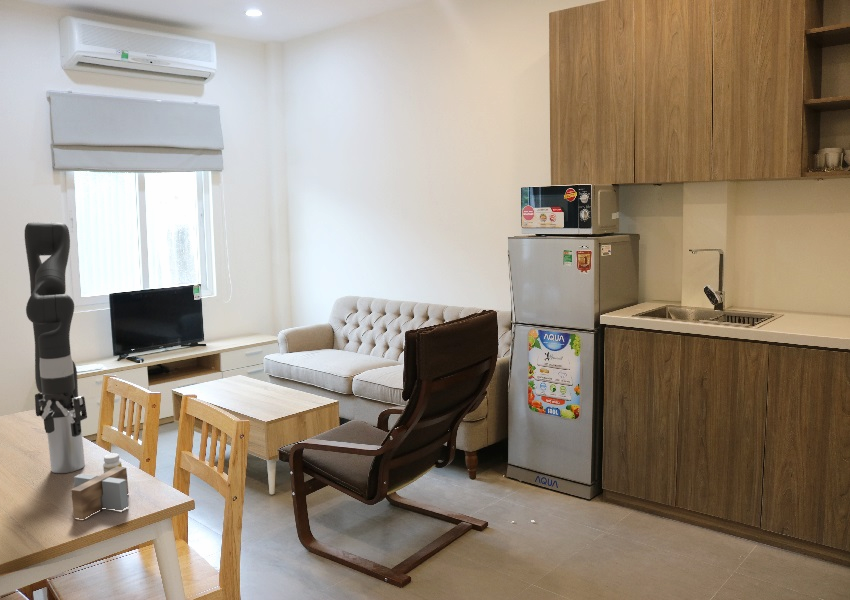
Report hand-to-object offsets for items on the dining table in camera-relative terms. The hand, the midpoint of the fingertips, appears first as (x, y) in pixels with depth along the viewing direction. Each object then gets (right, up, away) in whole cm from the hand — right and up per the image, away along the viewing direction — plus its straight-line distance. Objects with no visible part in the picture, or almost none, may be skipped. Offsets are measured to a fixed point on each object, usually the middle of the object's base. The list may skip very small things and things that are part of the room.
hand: (63, 433), depth 185 cm
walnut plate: (+8, -20, +6) cm, 22 cm away
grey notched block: (+8, -20, +6) cm, 22 cm away
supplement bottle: (+4, -18, +21) cm, 28 cm away
